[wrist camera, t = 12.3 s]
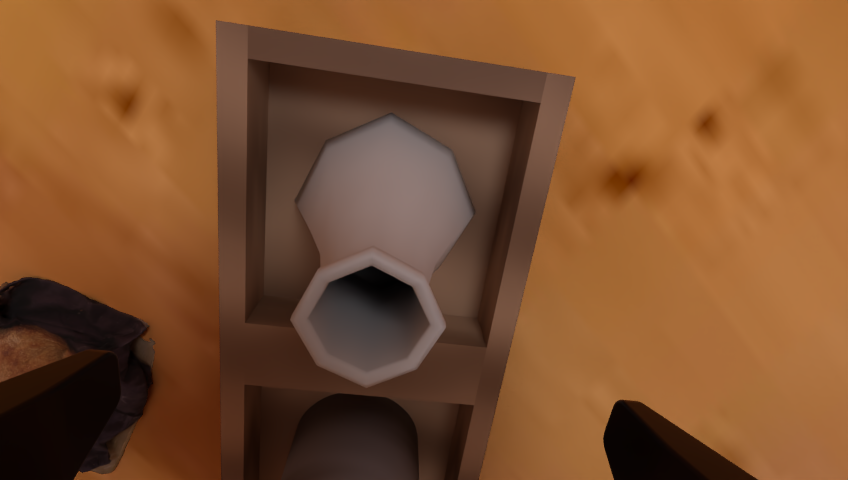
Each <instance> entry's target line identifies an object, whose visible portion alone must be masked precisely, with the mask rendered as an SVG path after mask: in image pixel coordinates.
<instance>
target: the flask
mask: <svg viewBox="0 0 848 480" xmlns="http://www.w3.org/2000/svg"><path fill="white" fill-rule="evenodd" d="M295 202H296V204H297V207H298V209H299V211H300V212H301V214H302V216H303V218H304V220H305V222H306V224H307V226H308V228H309V230H310V232H311V234H312V236H313V239H314V241H315V243H316V246H317V248H318V250H319V253H320V268H319V269H318V270H317V272H316V273H315V275H314V277H313V279H312V280H311V282H310V284H309V286H308V287H307V289H306V291H305V293H304V294H303V296H302V298H301V300H300V301H299V303H298V305H297V307H296V309H295V310H294V312H293V314H292V316H291V319H290V321H291V322H292V324H293V326H294V327H295V329H296V331H297V333H298V334H299V336H300V338H301V339H302V341H303V343H304V345H305V346H306V348H307V350H308V351H309V353H310V355H311V356H312V358H313V360H314V362H315V363H316V365H317V366H319V367H321V368H324V369H326V370H328V371H330V372H332V373H335V374H337V375H339V376H341V377H343V378H345V379H348V380H350V381H352V382H354V383H356V384H358V385H361V386H363V387H365V388H368V387H370V386H373V385H376V384H379V383H381V382H384V381H387V380H390V379H392V378H395V377H398V376H400V375H403V374H406V373H409V372H411V371H414V370H417V368H418V367H419V366H420V364H421V363H422V361H423V360H424V358H425V357H426V356H427V354H428V353H429V351H430V350H431V348H432V347H433V346H434V344H435V343H436V341H437V340H438V338H439V337H440V335H441V334H442V333H443V331H444V330H445V328H446V322H445V320H444V317H443V315H442V313H441V311H440V308H439V306H438V304H437V302H436V299H435V297H434V295H433V293H432V290H431V288H430V286H429V283H430V280H431V277H432V274H433V273H434V272H435V271H436V270H437V269H438V268H439V267H440V266H441V264H442V263H443V261H444V260H445V258H446V257H447V255H448V254H449V252H450V251H451V249H452V248H453V246H454V244H455V243H456V241H457V240H458V238H459V237H460V235H461V234H462V232H463V231H464V229H465V228H466V226H467V225H468V223H469V222H470V220H471V219H472V217H473V216H474V214H475V213H476V211H475V208H474V206H473V203H472V200H471V198H470V195H469V192H468V190H467V187H466V185H465V182H464V179H463V177H462V174H461V171H460V169H459V166H458V163H457V161H456V158H455V155H454V153H453V150H452V149H450V148H449V147H447V146H445V145H444V144H442V143H440V142H439V141H437V140H436V139H434V138H432V137H431V136H429V135H427V134H426V133H424V132H423V131H421V130H419V129H418V128H416V127H414V126H413V125H411V124H409V123H408V122H406V121H405V120H403V119H401V118H400V117H398V116H396V115H395V114H393V113H392V112H391V113H389V114H387V115H384V116H382V117H380V118H377V119H375V120H372V121H370V122H368V123H365V124H363V125H361V126H358V127H356V128H354V129H351V130H349V131H347V132H344V133H342V134H340V135H337V136H335V137H332V138H330V139H328V140H326V141H325V143H324V145H323V147H322V149H321V151H320V152H319V154H318V156H317V158H316V160H315V162H314V164H313V166H312V168H311V170H310V172H309V173H308V175H307V177H306V179H305V181H304V183H303V185H302V187H301V189H300V191H299V193H298V194H297V196H296V198H295Z"/></svg>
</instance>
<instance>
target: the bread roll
mask: <svg viewBox="0 0 848 480" xmlns="http://www.w3.org/2000/svg"><path fill="white" fill-rule="evenodd" d="M147 327H149V325H148V324H147V323H145V322H144V321H143V320H141V319H139V318H136V317H133V316H131V315H129V314H126V313H123V312H119V311H117V310H115V309H113V308H111V307H109V306H107V305H105V304H101V303H99V302H97V301H95V300H91V299H89V298H88V297H86V296H84V295H82V294H80V293H79V292H77V291H75V290H73V289H71V288H69V287H67V286H64V285H61V284H59V283H57V282H54V281H51V280H42V279H39V278H32V277H26V278H21V279H20V280H18V281H14V282H12V283H7V282H5V283H3V284H2V285H1V286H0V382H2V381H5V380H7V379H10V378H13V377H15V376H18V375H21V374H23V373H26V372H29V371H31V370H34V369H37V368H39V367H42V366H45V365H47V364H50V363H53V362H55V361H58V360H61V359H63V358H66V357H69V356H71V355H74V354H77V353H79V352H82V351H85V350H90V349H93V350H104V351H112V352H114V353H115V354H116V355H117V357H118V363H119V373H120V383H121V397H120V400H119V403H118V405H117V407H116V409H115V411H114V412H113V414H112V416H111V417H110V419H109V421H108V422H107V424H106V426H105V427H104V429H103V431H102V432H101V434H100V436H99V437H98V439H97V441H96V442H95V444H94V446H93V447H92V449H91V451H90V453H89V454H88V456H87V458H86V459H85V461H84V463H83V464H82V466H81V468H80V469H79V471H80V472H82V473H83V472H87V471H93V472H97V473H100V474H106V473H111V472H112V471H114V470H115V468H116V467H117V465H118V463H119V461H120V459H121V457H122V456H123V453H124V451H125V448H126V446H127V444H128V441H129V440H130V436H131V434H132V432H133V430H134V427H135V424H136V422H137V420H138V419H139V418H140V417H141V416H142V414H143V408H144V406H145V404H146V401H147V396H148V389H149V387H150V385H151V384H153V382H152V379H151V375H152V373H151V371H152V366H153V361H154V354H155V351H154V349H153V345H154V344H155V342H154V341H153V340H152V339H150V341H151V342H148V341H145V340H143V339H142V338H141V337H140V335H141V334H142V333H143V332H144V331H145V330H146V329H147Z"/></svg>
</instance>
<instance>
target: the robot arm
mask: <svg viewBox="0 0 848 480" xmlns="http://www.w3.org/2000/svg"><path fill="white" fill-rule="evenodd" d="M120 397H121V383H120V373H119V363H118V357H117V355H116V354H115V353H114V352H112V351H104V350H93V349H90V350H85V351H82V352H79V353H77V354H74V355H71V356H69V357H66V358H63V359H61V360H58V361H55V362H53V363H50V364H47V365H45V366H42V367H39V368H37V369H34V370H31V371H29V372H26V373H23V374H21V375H18V376H15V377H13V378H10V379H7V380H5V381H2V382H0V480H73V479H74V478H75V476H76V474H77V473H78V471H79V469H80V468H81V466H82V464H83V463H84V461H85V459H86V458H87V456H88V454H89V453H90V451H91V449H92V447H93V446H94V444H95V442H96V441H97V439H98V437H99V436H100V434H101V432H102V431H103V429H104V427H105V426H106V424H107V422H108V421H109V419H110V417H111V416H112V414H113V412H114V411H115V409H116V407H117V405H118V403H119V400H120ZM603 440H604V448H605V451H606V455H607V458H608V461H609V465H610V468H611V471H612V474H613V478H614V480H758V479H756V478H755V477H753V476H752V475H750V474H748V473H747V472H745V471H744V470H742V469H741V468H739V467H738V466H736V465H735V464H733V463H732V462H730V461H729V460H727V459H726V458H724V457H723V456H721V455H720V454H718V453H717V452H715V451H714V450H712V449H711V448H709V447H708V446H706V445H705V444H703V443H702V442H700V441H699V440H697V439H696V438H694V437H693V436H691V435H690V434H688V433H687V432H685V431H684V430H682V429H681V428H679V427H678V426H676V425H675V424H673V423H672V422H670V421H669V420H667V419H666V418H664V417H663V416H661V415H659V414H658V413H656V412H655V411H653V410H652V409H650V408H649V407H647V406H646V405H644V404H643V403H641V402H638V401H630V400H619V401H617V402H616V403H615V404H614V406H613V409H612V412H611V415H610V418H609V421H608V423H607V426H606V429H605V432H604V438H603Z"/></svg>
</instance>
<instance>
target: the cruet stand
mask: <svg viewBox="0 0 848 480" xmlns="http://www.w3.org/2000/svg"><path fill="white" fill-rule="evenodd" d="M216 67H217V151H218V236H219V320H220V405H221V480H479V476H480V472H481V467H482V463H483V459H484V455H485V451H486V447H487V442H488V438H489V434H490V430H491V426H492V422H493V418H494V413H495V409H496V405H497V401H498V397H499V393H500V389H501V384H502V380H503V376H504V372H505V368H506V364H507V360H508V355H509V351H510V347H511V343H512V339H513V335H514V331H515V326H516V322H517V318H518V314H519V310H520V306H521V302H522V297H523V293H524V289H525V285H526V281H527V277H528V272H529V268H530V264H531V260H532V256H533V252H534V248H535V243H536V239H537V235H538V231H539V227H540V223H541V219H542V214H543V210H544V206H545V202H546V198H547V194H548V190H549V185H550V181H551V177H552V173H553V169H554V165H555V161H556V156H557V152H558V148H559V144H560V140H561V136H562V131H563V127H564V123H565V119H566V115H567V111H568V107H569V102H570V98H571V94H572V90H573V86H574V82H575V78H576V77H572V76H565V75H559V74H553V73H546V72H540V71H534V70H527V69H521V68H515V67H508V66H502V65H496V64H489V63H483V62H477V61H470V60H464V59H458V58H451V57H445V56H439V55H432V54H426V53H420V52H413V51H407V50H401V49H394V48H388V47H382V46H375V45H369V44H363V43H356V42H350V41H344V40H337V39H331V38H325V37H318V36H312V35H306V34H299V33H293V32H287V31H280V30H274V29H268V28H261V27H255V26H249V25H242V24H236V23H230V22H223V21H217V20H216ZM391 112H392V113H393V114H395V115H396V116H398V117H400V118H401V119H403V120H405V121H406V122H408V123H409V124H411V125H413V126H414V127H416V128H418V129H419V130H421V131H423V132H424V133H426V134H427V135H429V136H431V137H432V138H434V139H436V140H437V141H439V142H440V143H442V144H444V145H445V146H447V147H449V148H450V149H452V150H453V153H454V155H455V158H456V161H457V163H458V166H459V169H460V171H461V174H462V177H463V179H464V182H465V185H466V187H467V190H468V192H469V195H470V198H471V200H472V203H473V206H474V208H475V211H476V213H475V214H474V216H473V217H472V219H471V220H470V222H469V223H468V225H467V226H466V228H465V229H464V231H463V232H462V234H461V235H460V237H459V238H458V240H457V241H456V243H455V244H454V246H453V248H452V249H451V251H450V252H449V254H448V255H447V257H446V258H445V260H444V261H443V263H442V264H441V266H440V267H439V268H438V269H437V270H436V271H435V272H434V273H433V274H432V277H431V280H430V283H429V286H430V288H431V290H432V293H433V295H434V297H435V299H436V302H437V304H438V306H439V308H440V311H441V313H442V315H443V317H444V320H445V322H446V328H445V330H444V331H443V333H442V334H441V335H440V337H439V338H438V340H437V341H436V343H435V344H434V346H433V347H432V348H431V350H430V351H429V353H428V354H427V356H426V357H425V358H424V360H423V361H422V363H421V364H420V366H419V367H418V368H417V370H414V371H411V372H409V373H406V374H403V375H400V376H398V377H395V378H392V379H390V380H387V381H384V382H381V383H379V384H376V385H373V386H370V387H368V388H365V387H363V386H361V385H358V384H356V383H354V382H352V381H350V380H348V379H345V378H343V377H341V376H339V375H337V374H335V373H332V372H330V371H328V370H326V369H324V368H321V367H319V366H317V365H316V363H315V362H314V360H313V358H312V356H311V355H310V353H309V351H308V350H307V348H306V346H305V345H304V343H303V341H302V339H301V338H300V336H299V334H298V333H297V331H296V329H295V327H294V326H293V324H292V322H291V321H290V319H291V316H292V314H293V312H294V310H295V309H296V307H297V305H298V303H299V301H300V300H301V298H302V296H303V294H304V293H305V291H306V289H307V287H308V286H309V284H310V282H311V280H312V279H313V277H314V275H315V273H316V272H317V270H318V269H319V268H320V253H319V250H318V248H317V246H316V243H315V241H314V239H313V236H312V234H311V232H310V230H309V228H308V226H307V224H306V222H305V220H304V218H303V216H302V214H301V212H300V211H299V209H298V207H297V204H296V202H295V198H296V196H297V194H298V193H299V191H300V189H301V187H302V185H303V183H304V181H305V179H306V177H307V175H308V173H309V172H310V170H311V168H312V166H313V164H314V162H315V160H316V158H317V156H318V154H319V152H320V151H321V149H322V147H323V145H324V143H325V141H326V140H328V139H330V138H332V137H335V136H337V135H340V134H342V133H344V132H347V131H349V130H351V129H354V128H356V127H358V126H361V125H363V124H365V123H368V122H370V121H372V120H375V119H377V118H380V117H382V116H384V115H387V114H389V113H391Z"/></svg>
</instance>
